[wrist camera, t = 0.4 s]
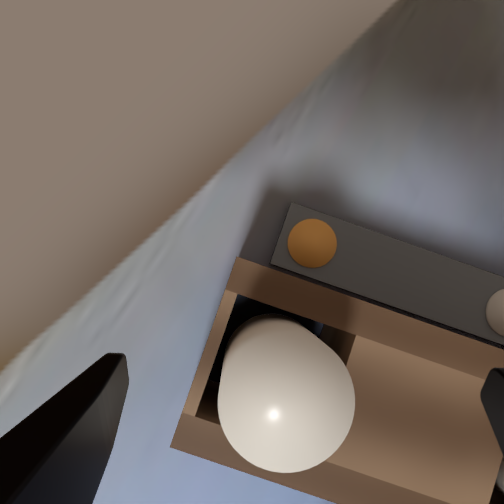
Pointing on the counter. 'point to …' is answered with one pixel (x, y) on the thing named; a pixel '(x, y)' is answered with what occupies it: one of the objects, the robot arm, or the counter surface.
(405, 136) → the counter surface
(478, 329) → the pattern card
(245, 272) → the button console
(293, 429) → the beige cylinder
